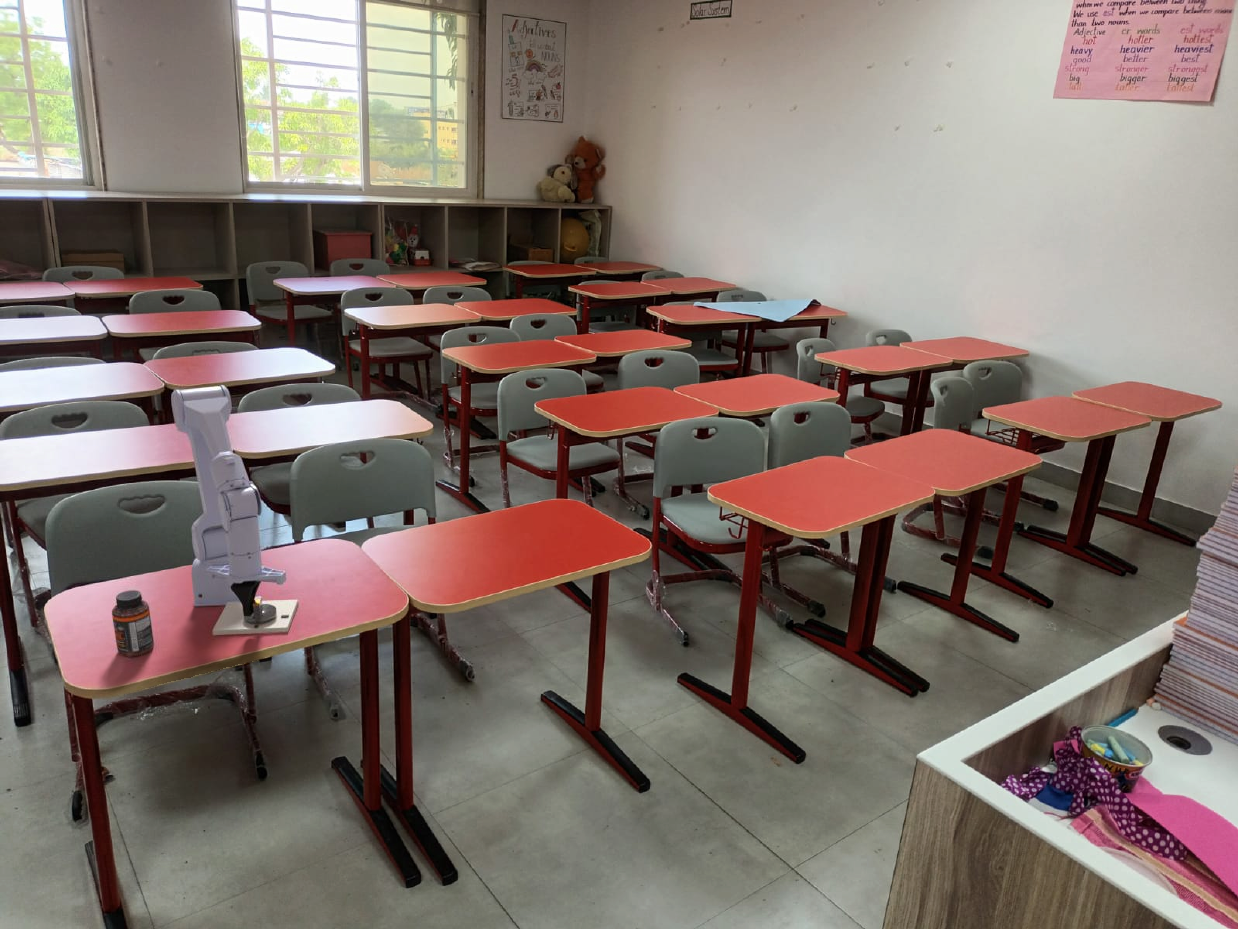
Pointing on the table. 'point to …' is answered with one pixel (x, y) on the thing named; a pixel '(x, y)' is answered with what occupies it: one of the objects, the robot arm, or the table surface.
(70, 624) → the table surface
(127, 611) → the supplement bottle
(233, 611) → the dial plate
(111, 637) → the table surface
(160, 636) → the table surface
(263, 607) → the dial
